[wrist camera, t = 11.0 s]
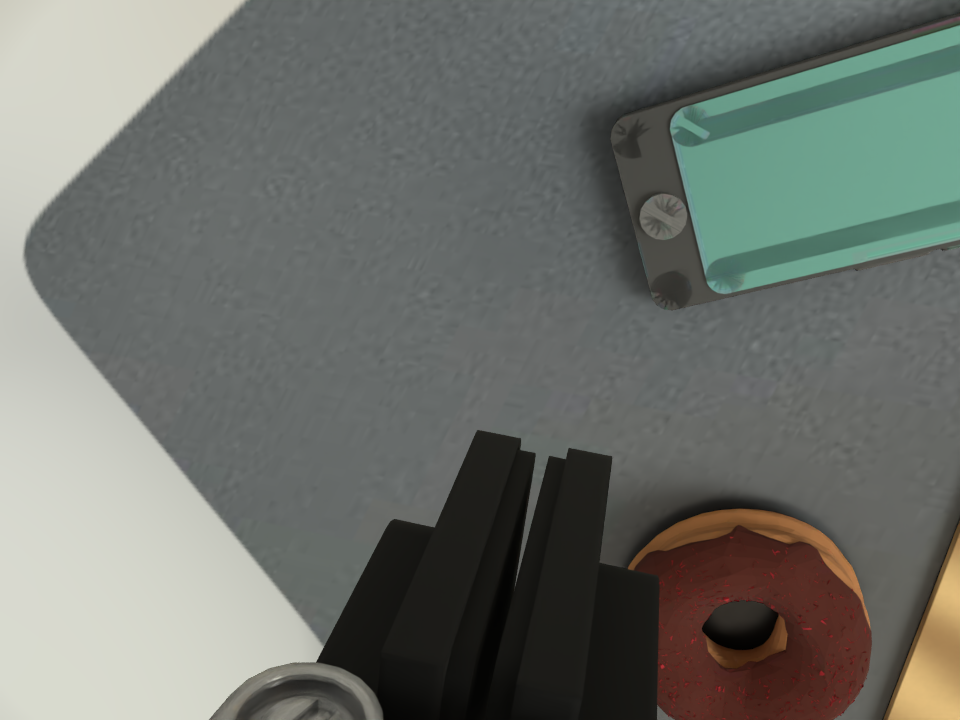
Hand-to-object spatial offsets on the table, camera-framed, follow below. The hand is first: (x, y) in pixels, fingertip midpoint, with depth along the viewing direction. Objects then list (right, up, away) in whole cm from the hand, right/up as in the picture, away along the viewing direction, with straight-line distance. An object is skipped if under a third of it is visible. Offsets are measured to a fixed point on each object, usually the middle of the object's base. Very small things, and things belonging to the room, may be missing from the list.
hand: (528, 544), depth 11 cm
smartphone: (+12, +9, +19) cm, 25 cm away
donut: (+10, -8, +26) cm, 30 cm away
